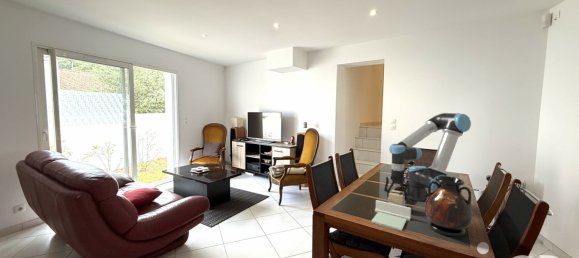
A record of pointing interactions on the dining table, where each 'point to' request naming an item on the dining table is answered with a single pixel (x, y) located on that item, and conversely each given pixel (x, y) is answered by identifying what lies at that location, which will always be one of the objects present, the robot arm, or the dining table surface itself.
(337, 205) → the dining table surface
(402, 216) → the white slab
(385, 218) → the display pad
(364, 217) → the dining table surface
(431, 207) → the amphora vase
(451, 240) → the dining table surface
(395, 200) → the maple cube
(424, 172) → the robot arm
